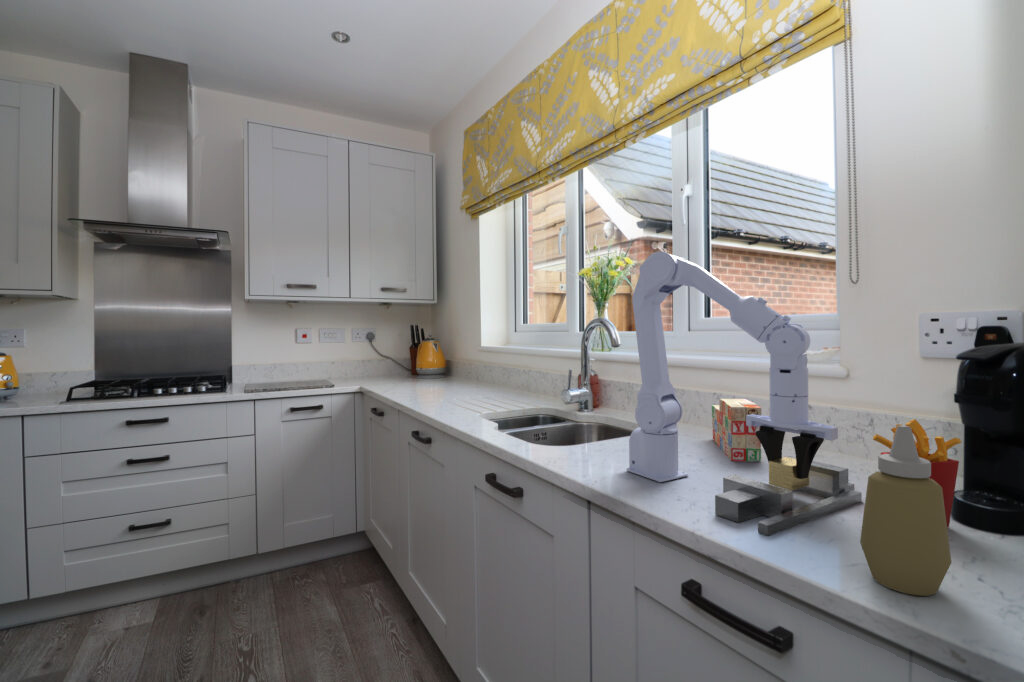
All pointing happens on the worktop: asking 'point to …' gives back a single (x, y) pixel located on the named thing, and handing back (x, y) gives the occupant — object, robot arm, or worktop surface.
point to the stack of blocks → (736, 429)
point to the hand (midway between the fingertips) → (788, 474)
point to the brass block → (785, 474)
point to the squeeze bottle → (905, 521)
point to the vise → (821, 483)
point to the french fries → (933, 461)
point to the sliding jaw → (751, 499)
